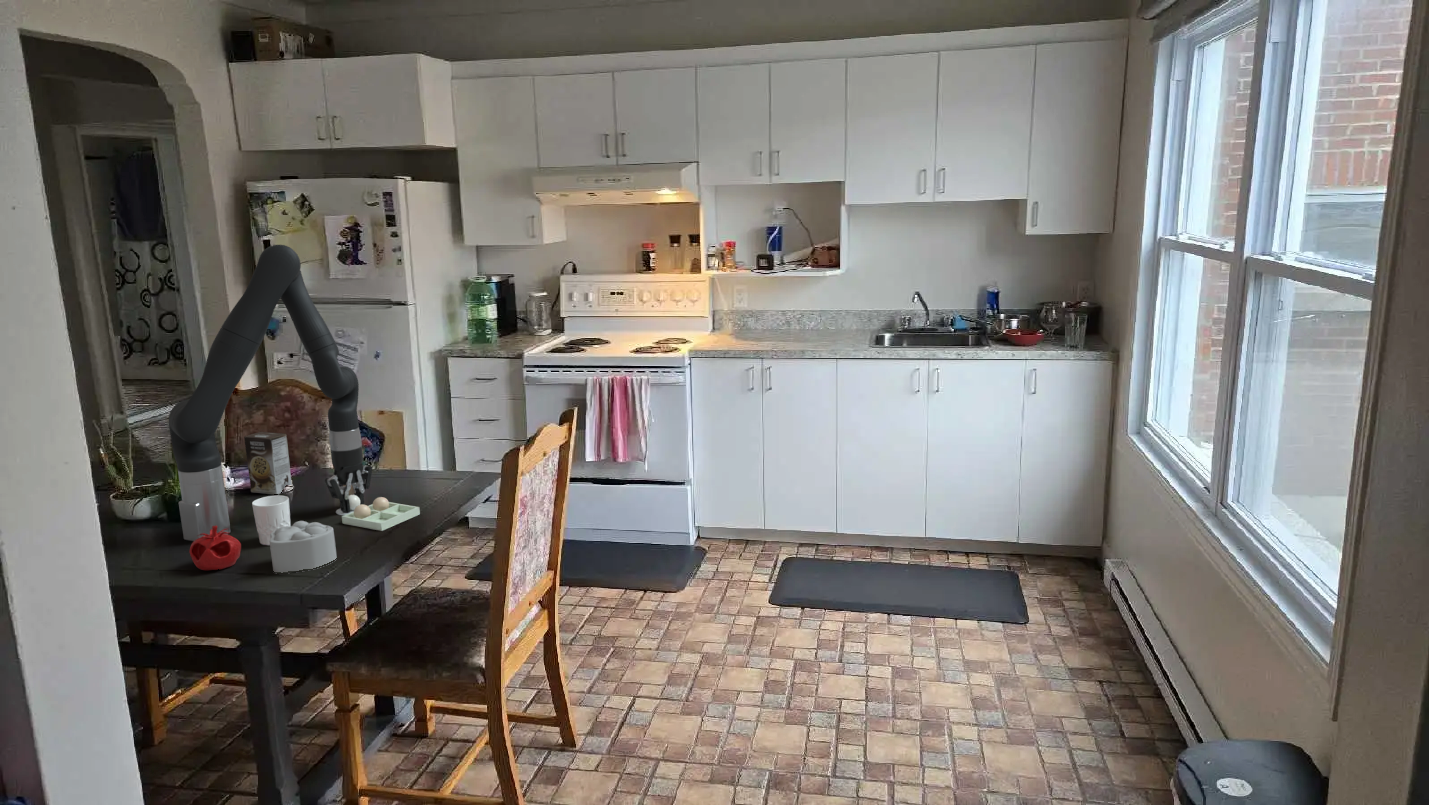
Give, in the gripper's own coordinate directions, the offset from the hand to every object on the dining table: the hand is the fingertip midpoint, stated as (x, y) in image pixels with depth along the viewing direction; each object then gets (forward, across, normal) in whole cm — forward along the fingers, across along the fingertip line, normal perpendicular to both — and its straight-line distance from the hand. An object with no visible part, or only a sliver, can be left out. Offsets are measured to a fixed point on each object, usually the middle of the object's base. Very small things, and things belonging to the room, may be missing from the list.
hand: (353, 509), depth 239 cm
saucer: (+1, 0, 0) cm, 1 cm away
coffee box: (+1, +5, +36) cm, 36 cm away
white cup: (+1, -22, +2) cm, 22 cm away
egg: (0, 0, 0) cm, 0 cm away
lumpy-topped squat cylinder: (+1, -29, -16) cm, 33 cm away
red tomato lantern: (+1, -38, +1) cm, 38 cm away
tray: (+1, -2, -12) cm, 12 cm away
